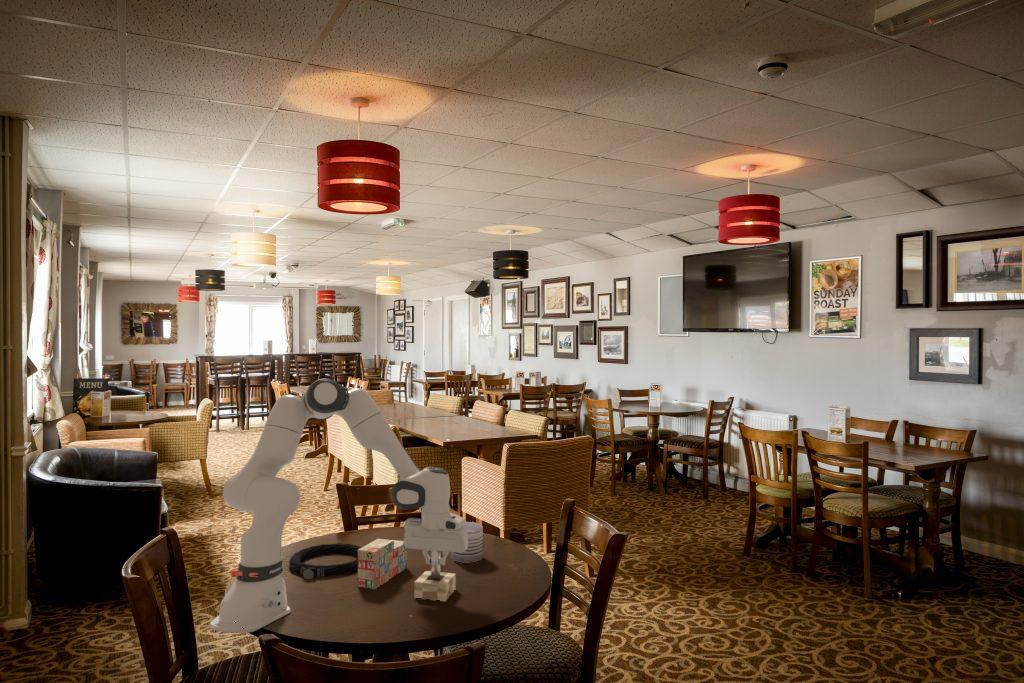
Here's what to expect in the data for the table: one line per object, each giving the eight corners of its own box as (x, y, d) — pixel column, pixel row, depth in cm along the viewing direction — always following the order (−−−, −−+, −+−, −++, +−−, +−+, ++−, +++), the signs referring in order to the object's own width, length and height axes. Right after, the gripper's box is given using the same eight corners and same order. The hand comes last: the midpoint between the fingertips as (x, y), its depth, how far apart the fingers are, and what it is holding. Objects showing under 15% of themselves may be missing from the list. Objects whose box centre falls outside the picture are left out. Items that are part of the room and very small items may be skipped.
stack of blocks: (391, 566, 231) (391, 530, 231) (407, 568, 229) (407, 532, 229) (357, 587, 211) (357, 548, 211) (374, 590, 209) (374, 551, 209)
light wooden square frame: (445, 601, 200) (445, 584, 200) (414, 598, 202) (414, 581, 202) (455, 589, 210) (455, 573, 210) (425, 586, 212) (425, 570, 212)
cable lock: (382, 544, 244) (347, 572, 214) (381, 554, 244) (347, 584, 214) (312, 539, 249) (269, 566, 219) (312, 549, 249) (269, 577, 219)
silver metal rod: (438, 586, 204) (438, 540, 204) (429, 585, 205) (429, 540, 205) (441, 582, 207) (442, 537, 207) (432, 581, 208) (432, 537, 208)
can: (466, 551, 247) (466, 519, 247) (489, 558, 240) (489, 524, 240) (444, 559, 238) (444, 525, 238) (467, 566, 231) (467, 531, 231)
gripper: (400, 520, 205) (400, 564, 205) (463, 524, 201) (463, 570, 201) (408, 514, 211) (407, 558, 211) (469, 519, 207) (469, 563, 207)
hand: (435, 564), depth 206 cm, fingers closed on silver metal rod, 3 cm apart
